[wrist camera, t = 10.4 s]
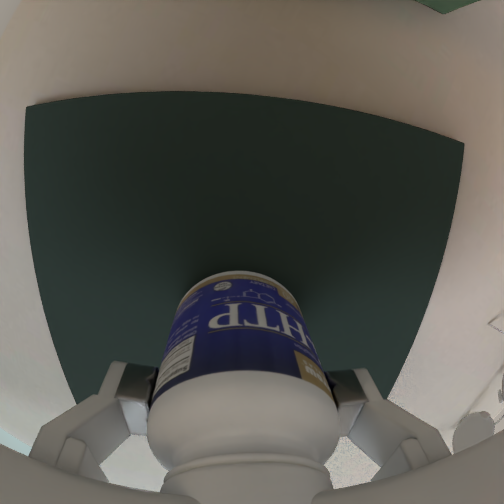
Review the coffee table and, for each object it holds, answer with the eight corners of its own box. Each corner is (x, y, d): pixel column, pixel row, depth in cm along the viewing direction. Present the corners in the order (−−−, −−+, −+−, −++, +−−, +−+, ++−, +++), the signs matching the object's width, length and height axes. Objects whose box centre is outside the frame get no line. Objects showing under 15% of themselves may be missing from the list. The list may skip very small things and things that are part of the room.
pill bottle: (323, 297, 12) (419, 489, 4) (263, 381, 14) (288, 554, 6) (204, 244, 11) (162, 479, 3) (158, 344, 13) (114, 533, 4)
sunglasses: (443, 439, 22) (458, 473, 17) (386, 434, 21) (398, 476, 17) (528, 332, 17) (557, 361, 13) (483, 308, 17) (518, 342, 12)
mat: (82, 405, 16) (79, 411, 15) (32, 107, 10) (25, 106, 9) (372, 414, 18) (375, 420, 17) (457, 142, 11) (465, 143, 11)
